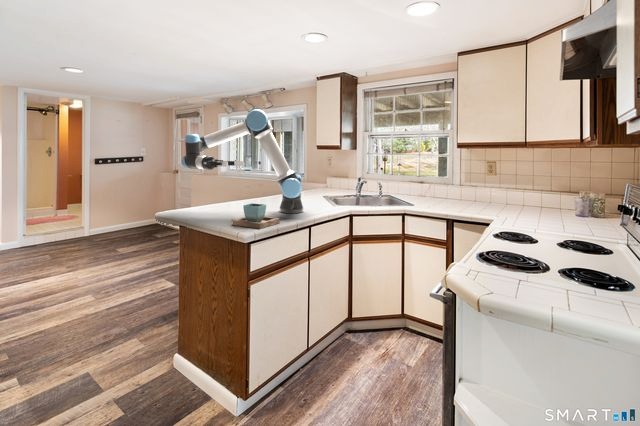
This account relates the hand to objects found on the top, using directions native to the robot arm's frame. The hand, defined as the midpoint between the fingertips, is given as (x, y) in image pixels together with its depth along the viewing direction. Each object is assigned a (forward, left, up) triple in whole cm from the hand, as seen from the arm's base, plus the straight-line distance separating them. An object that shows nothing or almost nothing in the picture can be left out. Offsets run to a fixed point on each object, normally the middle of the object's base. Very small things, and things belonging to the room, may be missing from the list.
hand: (236, 163), depth 188 cm
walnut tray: (+5, +17, -30) cm, 35 cm away
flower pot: (+6, +16, -29) cm, 34 cm away
